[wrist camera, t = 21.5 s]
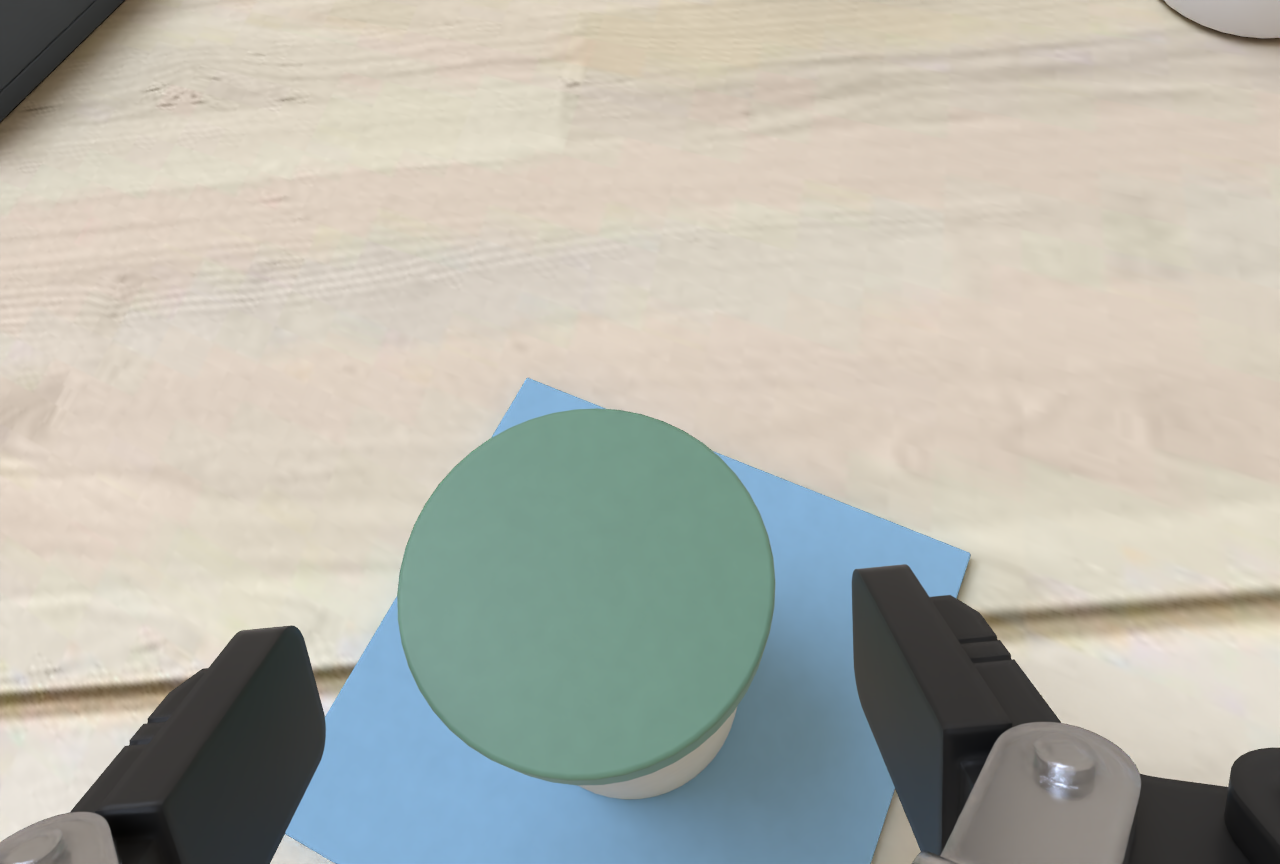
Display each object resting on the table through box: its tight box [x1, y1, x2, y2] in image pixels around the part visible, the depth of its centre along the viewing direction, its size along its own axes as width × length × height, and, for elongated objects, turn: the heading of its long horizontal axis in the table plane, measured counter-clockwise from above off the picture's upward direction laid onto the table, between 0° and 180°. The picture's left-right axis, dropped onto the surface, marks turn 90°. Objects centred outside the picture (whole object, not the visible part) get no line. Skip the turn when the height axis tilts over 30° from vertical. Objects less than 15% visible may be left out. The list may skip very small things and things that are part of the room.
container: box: [397, 408, 776, 799], centre depth 18 cm, size 6×6×10 cm
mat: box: [285, 378, 971, 864], centre depth 23 cm, size 14×14×1 cm
